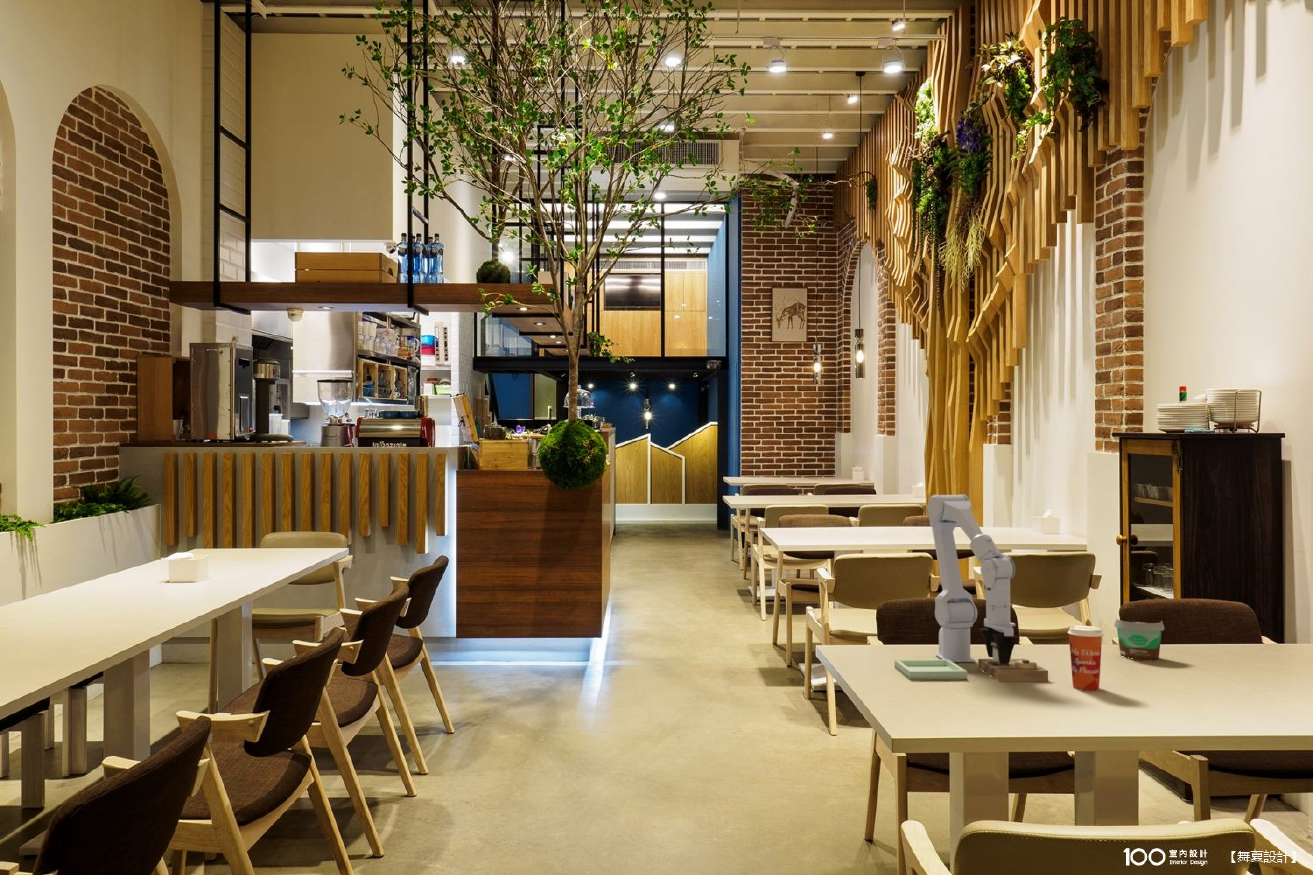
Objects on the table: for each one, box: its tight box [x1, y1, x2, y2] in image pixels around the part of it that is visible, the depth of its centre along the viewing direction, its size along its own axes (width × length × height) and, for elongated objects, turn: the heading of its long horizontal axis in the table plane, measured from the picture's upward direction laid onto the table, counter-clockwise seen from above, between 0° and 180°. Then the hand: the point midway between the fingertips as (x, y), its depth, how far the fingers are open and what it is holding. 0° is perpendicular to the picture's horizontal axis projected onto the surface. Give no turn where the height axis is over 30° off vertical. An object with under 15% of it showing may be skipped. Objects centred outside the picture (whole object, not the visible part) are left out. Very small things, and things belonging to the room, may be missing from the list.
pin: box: [991, 641, 1005, 666], centre depth 241 cm, size 4×4×8 cm
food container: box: [1113, 618, 1165, 661], centre depth 259 cm, size 12×6×10 cm, turn 73°
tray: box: [894, 658, 968, 681], centre depth 241 cm, size 14×14×2 cm
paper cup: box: [1067, 625, 1105, 691], centre depth 226 cm, size 8×8×14 cm
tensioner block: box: [977, 658, 1049, 682], centre depth 240 cm, size 14×12×4 cm
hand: (998, 660), depth 241 cm, fingers open, 7 cm apart
